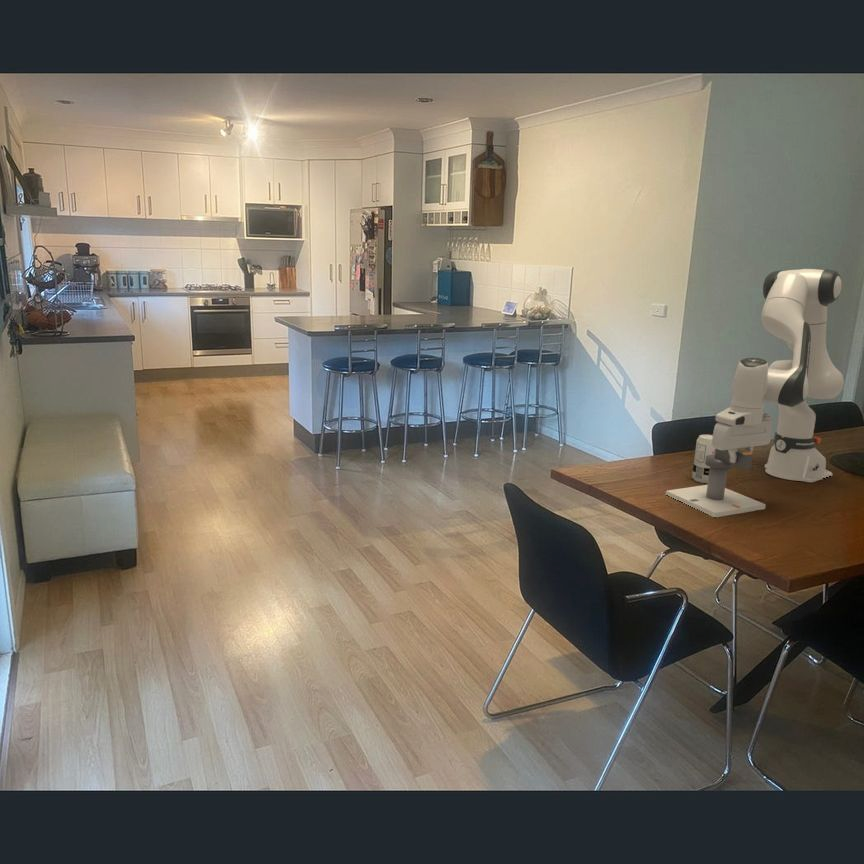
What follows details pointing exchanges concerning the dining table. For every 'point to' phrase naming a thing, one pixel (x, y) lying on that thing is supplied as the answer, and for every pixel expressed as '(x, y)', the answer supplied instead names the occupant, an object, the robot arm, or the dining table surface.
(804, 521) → the dining table surface
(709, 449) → the supplement can
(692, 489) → the base
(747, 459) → the twist knob
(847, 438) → the dining table surface
